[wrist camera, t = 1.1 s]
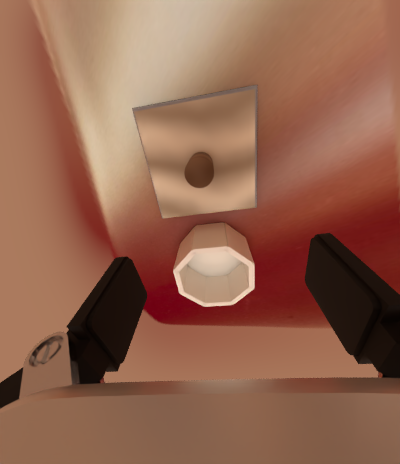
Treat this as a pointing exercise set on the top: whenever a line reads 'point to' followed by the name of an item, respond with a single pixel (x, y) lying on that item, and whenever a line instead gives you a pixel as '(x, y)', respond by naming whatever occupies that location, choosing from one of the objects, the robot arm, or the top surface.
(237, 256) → the bowl
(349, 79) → the top surface
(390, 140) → the top surface
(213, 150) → the lid
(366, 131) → the top surface
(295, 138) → the top surface
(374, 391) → the robot arm
